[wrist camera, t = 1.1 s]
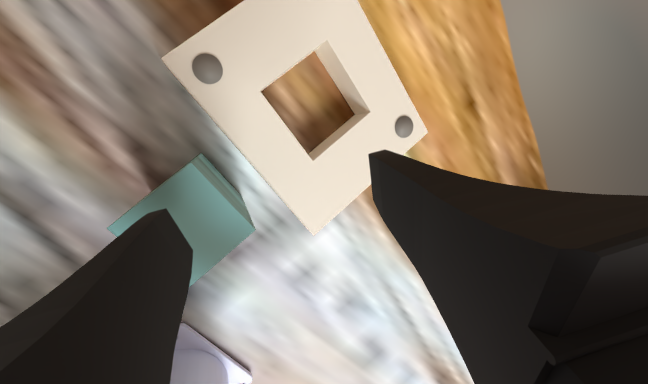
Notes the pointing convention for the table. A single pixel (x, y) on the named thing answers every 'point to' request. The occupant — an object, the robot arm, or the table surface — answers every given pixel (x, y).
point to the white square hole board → (275, 60)
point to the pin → (197, 213)
